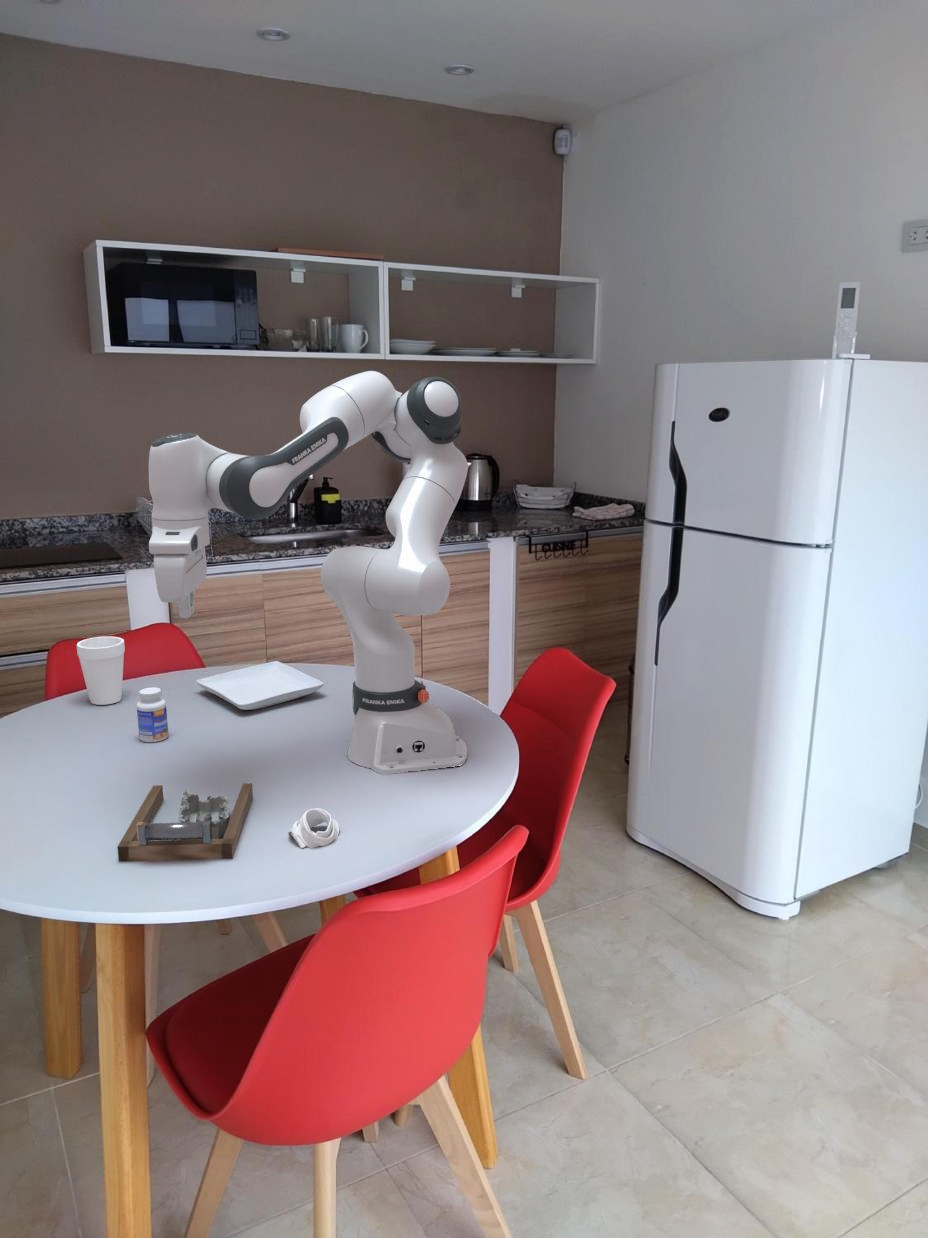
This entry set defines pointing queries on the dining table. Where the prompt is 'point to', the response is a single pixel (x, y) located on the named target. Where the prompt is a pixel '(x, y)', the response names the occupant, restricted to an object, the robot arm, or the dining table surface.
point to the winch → (174, 831)
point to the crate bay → (183, 848)
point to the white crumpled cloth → (310, 820)
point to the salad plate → (260, 685)
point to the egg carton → (206, 812)
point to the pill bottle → (152, 715)
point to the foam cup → (102, 668)
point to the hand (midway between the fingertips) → (186, 616)
